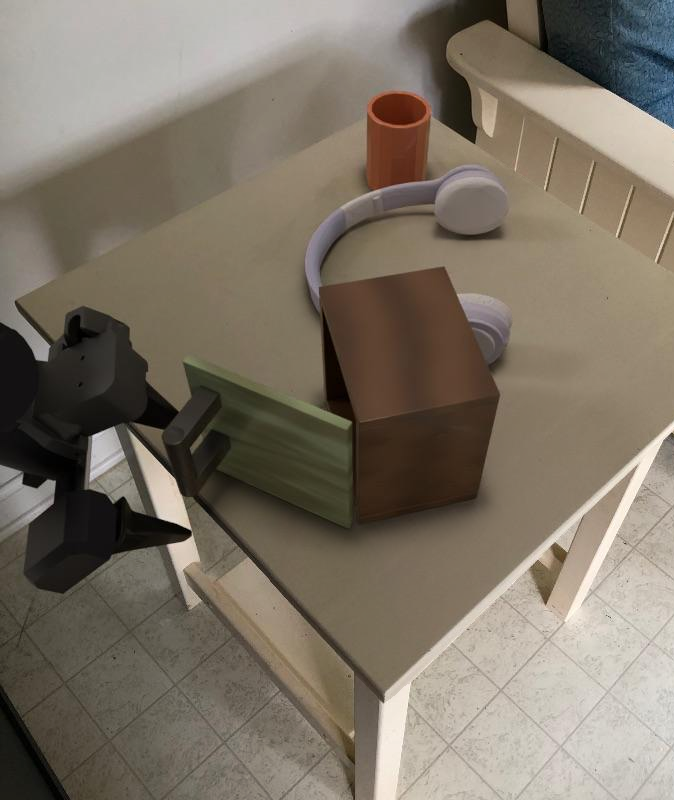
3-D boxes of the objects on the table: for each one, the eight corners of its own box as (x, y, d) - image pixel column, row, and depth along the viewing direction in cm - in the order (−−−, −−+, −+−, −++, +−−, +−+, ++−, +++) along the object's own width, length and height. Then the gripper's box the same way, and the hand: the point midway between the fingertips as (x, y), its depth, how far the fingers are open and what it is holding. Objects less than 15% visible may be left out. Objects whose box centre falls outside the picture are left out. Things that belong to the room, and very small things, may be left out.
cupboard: (359, 524, 66) (359, 422, 55) (324, 398, 73) (318, 286, 62) (477, 498, 68) (500, 394, 57) (431, 378, 75) (444, 265, 64)
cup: (365, 198, 90) (366, 126, 83) (366, 160, 94) (367, 89, 87) (426, 199, 91) (431, 128, 83) (424, 162, 95) (430, 91, 87)
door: (316, 585, 63) (307, 491, 52) (172, 517, 66) (135, 415, 55) (353, 521, 66) (352, 421, 55) (215, 459, 69) (188, 353, 58)
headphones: (507, 214, 89) (324, 209, 91) (512, 159, 84) (317, 155, 85) (509, 373, 76) (294, 365, 77) (516, 321, 70) (283, 313, 71)
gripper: (19, 473, 40) (270, 549, 50) (52, 217, 51) (252, 322, 61) (-85, 568, 45) (161, 618, 55) (-35, 316, 56) (163, 398, 66)
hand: (187, 479), depth 59 cm, fingers open, 9 cm apart
